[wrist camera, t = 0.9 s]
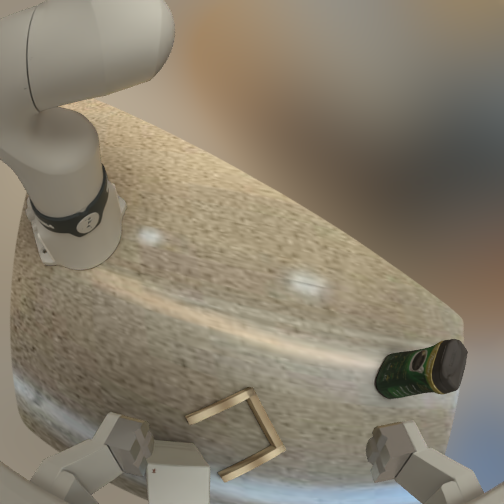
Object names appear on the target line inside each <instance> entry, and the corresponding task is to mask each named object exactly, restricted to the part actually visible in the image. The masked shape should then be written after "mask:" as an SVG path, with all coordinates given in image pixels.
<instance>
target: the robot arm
mask: <svg viewBox="0 0 504 504" xmlns="http://www.w3.org/2000/svg"><path fill="white" fill-rule="evenodd" d="M174 37H175V24H174V20H173V16H172V13H171V11H170V9H169V7H168V5H167V4H166V3H165V1H164V0H46V1H45V2H44V3H41V4H39V5H38V6H34V7H31V8H28V9H25V10H22V11H19V12H16V13H14V14H11V15H8V16H6V17H3V18H1V19H0V160H2V161H3V162H4V163H5V164H7V165H8V166H9V167H10V168H11V169H12V170H13V171H14V172H15V173H16V175H17V176H18V178H19V179H20V181H21V183H22V184H23V186H24V188H25V190H26V191H27V193H28V195H29V197H28V199H27V206H28V208H27V209H26V210H25V211H26V215H27V217H28V219H29V221H31V225H32V229H33V233H34V237H35V240H36V244H37V248H38V251H39V255H40V258H41V260H42V262H43V264H45V265H61V266H64V267H67V268H70V269H74V270H85V269H89V268H93V267H95V266H97V265H99V264H101V263H102V262H104V261H105V260H106V259H107V258H109V257H110V255H111V254H112V253H113V252H114V250H115V249H116V247H117V245H118V243H119V241H120V237H121V232H122V217H123V215H124V213H125V211H126V207H127V206H126V202H125V200H124V199H122V198H121V197H120V196H119V195H117V191H116V187H115V184H114V183H111V182H110V181H109V180H108V178H107V174H106V171H105V168H104V166H103V164H102V162H101V154H100V146H99V137H98V133H97V131H96V129H95V127H94V126H93V124H92V123H91V122H90V121H89V120H88V119H87V118H86V117H85V116H84V115H82V114H81V113H79V112H76V111H73V110H70V109H66V108H61V107H58V106H61V105H65V104H69V103H73V102H77V101H82V100H86V99H91V98H96V97H101V96H106V95H109V94H112V93H114V92H118V91H121V90H124V89H127V88H130V87H133V86H135V85H138V84H141V83H144V82H148V81H150V80H151V79H152V78H153V77H154V76H155V75H156V74H157V73H158V72H159V71H160V70H161V68H162V67H163V65H164V64H165V62H166V61H167V59H168V57H169V54H170V52H171V50H172V47H173V43H174ZM44 251H47V252H46V253H44ZM149 428H150V426H149V423H148V421H144V420H139V419H135V418H132V417H128V416H124V415H120V414H117V413H113V412H110V413H108V414H107V415H106V417H105V419H104V420H103V422H102V424H101V425H100V427H99V429H98V430H97V432H96V434H95V435H94V437H93V439H92V440H90V439H88V440H85V441H83V442H81V443H79V444H77V445H75V446H73V447H71V448H68V449H66V450H64V451H62V452H60V453H58V454H55V455H53V456H51V457H48V458H46V459H44V460H43V461H42V463H41V464H40V466H39V468H38V469H37V471H36V472H35V474H34V475H33V477H32V478H31V480H30V481H29V480H27V479H26V478H24V477H22V476H21V475H20V474H18V473H16V472H15V471H13V470H12V469H11V468H9V467H8V466H7V465H5V464H4V463H3V462H1V461H0V504H99V503H98V502H97V501H96V500H95V499H94V498H93V497H92V496H91V495H92V494H93V493H95V492H96V491H98V490H99V489H101V488H102V487H104V486H105V485H107V484H108V483H109V482H111V481H112V480H114V479H115V478H116V477H118V476H119V475H121V474H122V473H123V472H126V473H130V474H134V475H138V476H142V477H143V476H144V474H145V471H146V469H147V466H148V462H147V460H146V459H147V458H148V457H150V456H152V453H153V450H154V437H153V434H152V433H151V432H149ZM372 434H373V437H372V438H370V439H369V440H368V443H367V446H366V456H367V460H368V462H370V463H371V464H372V465H373V466H372V468H371V470H370V471H371V474H372V477H373V481H374V483H376V482H381V481H386V480H391V479H394V480H395V481H396V482H397V483H398V484H400V485H401V486H402V487H403V488H404V489H405V490H407V491H408V492H409V493H410V494H411V495H413V496H414V497H415V498H416V499H417V500H419V501H420V502H421V503H422V504H504V482H502V483H500V484H499V485H497V486H496V487H494V488H492V489H491V490H489V491H487V492H485V493H484V492H483V490H482V488H481V486H480V484H479V482H478V480H477V478H476V476H475V474H474V472H473V471H472V470H470V469H469V468H467V467H465V466H463V465H461V464H459V463H457V462H456V461H454V460H452V459H450V458H448V457H447V456H445V455H443V454H441V453H440V452H438V451H436V450H434V449H433V448H428V447H427V445H426V443H425V441H424V439H423V437H422V435H421V433H420V431H419V429H418V427H417V425H416V423H415V421H413V420H407V421H403V422H396V423H391V424H386V425H381V426H376V427H375V428H374V430H373V432H372ZM122 471H123V472H122Z"/></svg>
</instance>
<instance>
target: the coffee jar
mask: <svg viewBox="0 0 504 504" xmlns="http://www.w3.org/2000/svg"><path fill="white" fill-rule="evenodd" d="M467 353H468V352H467V350H466V348H465V347H464V345H463V344H462V343H461V341H460V340H456V339H451V340H444V341H441V342H439V343H437V344H436V345H434V346H431V347H429V348H425V349H420V350H414V351H407V352H399V353H393V354H390V355H389V356H388V357H387V358H386V359H385V361H384V363H383V365H382V367H381V369H380V371H379V373H378V376H377V379H376V385H377V388H378V390H379V392H380V393H381V394H382V395H384V396H385V397H387V398H389V399H394V398H401V397H406V396H411V395H416V394H422V393H428V392H435V393H438V394H446V393H450V392H453V391H456V390H457V389H458V388H459V386H460V384H461V380H462V376H463V373H464V369H465V365H466V358H467Z"/></svg>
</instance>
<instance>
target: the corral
mask: <svg viewBox="0 0 504 504" xmlns="http://www.w3.org/2000/svg"><path fill="white" fill-rule="evenodd" d="M244 400H247V402H248V404H249V406H250V408H251V410H252V411H253V413H254V415H255V417H256V419H257V421H258V423H259V425H260V426H261V428H262V430H263V432H264V434H265V435H266V437H267V439H268V441H269V443H270V444H271V446H269V447H267V448H265V449H264V450H262V451H260V452H258V453H256V454H254V455H252V456H250V457H249V458H247V459H245V460H243V461H241V462H239V463H237V464H235V465H233V466H230V467H228V468H226V469H224V470H222V471H220V472H218V474H219V475H220V477H221V478H222V480H223V481H224V482H227V481H230V480H232V479H234V478H236V477H238V476H240V475H242V474H244V473H246V472H248V471H250V470H252V469H254V468H256V467H258V466H259V465H261V464H263V463H265V462H267V461H268V460H270V459H272V458H274V457H275V456H277V455H279V454H281V453H282V452H284V451H286V449H285V447H284V445H283V443H282V441H281V440H280V438H279V436H278V434H277V432H276V430H275V429H274V427H273V425H272V423H271V421H270V419H269V417H268V416H267V414H266V412H265V410H264V408H263V406H262V404H261V402H260V400H259V398H258V396H257V394H256V393H255V391H254V389H253V388H251V387H247V388H245V389H243V390H241V391H239V392H237V393H235V394H233V395H231V396H229V397H227V398H225V399H222V400H220V401H218V402H216V403H214V404H212V405H209V406H207V407H205V408H203V409H200V410H198V411H196V412H193V413H191V414H188V415H186V416H185V417H186V419H187V421H188V423H189V424H190V425H192V424H194V423H197V422H199V421H201V420H204V419H206V418H208V417H211V416H213V415H215V414H217V413H219V412H221V411H224V410H226V409H228V408H230V407H232V406H234V405H236V404H238V403H240V402H242V401H244Z"/></svg>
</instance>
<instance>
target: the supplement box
mask: <svg viewBox="0 0 504 504" xmlns="http://www.w3.org/2000/svg"><path fill="white" fill-rule="evenodd" d="M146 460H147V462H148V466H147V469H146V480H147V493H148V502H149V504H209V494H210V466H209V465H208V464H207V462H206V461H205V460H204V458H203V456H202V455H201V453H200V452H199V450H198V449H197V447H196V446H195V444H194V443H186V442H172V441H161V440H154V450H153V453H152V456H150V457H148V458H147V459H146Z"/></svg>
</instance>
